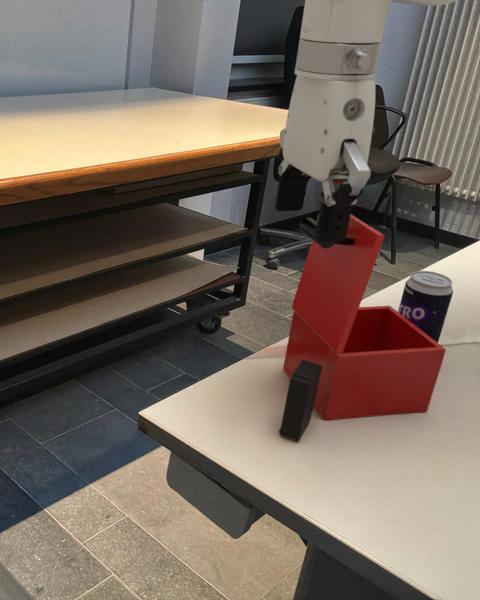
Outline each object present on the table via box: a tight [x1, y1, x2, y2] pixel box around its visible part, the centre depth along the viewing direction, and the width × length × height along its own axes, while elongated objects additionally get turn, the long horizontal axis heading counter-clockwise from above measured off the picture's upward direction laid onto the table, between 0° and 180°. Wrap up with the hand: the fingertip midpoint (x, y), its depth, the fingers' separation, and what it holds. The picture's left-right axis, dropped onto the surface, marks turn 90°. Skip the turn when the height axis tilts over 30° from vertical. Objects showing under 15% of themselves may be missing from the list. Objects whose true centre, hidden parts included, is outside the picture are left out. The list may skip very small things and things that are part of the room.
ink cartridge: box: [278, 360, 322, 442], centre depth 76 cm, size 5×2×8 cm, turn 147°
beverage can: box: [397, 270, 454, 344], centre depth 90 cm, size 6×6×12 cm
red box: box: [282, 305, 446, 421], centre depth 84 cm, size 13×11×9 cm
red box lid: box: [291, 201, 386, 353], centre depth 77 cm, size 14×11×5 cm
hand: (307, 224), depth 74 cm, fingers open, 9 cm apart
